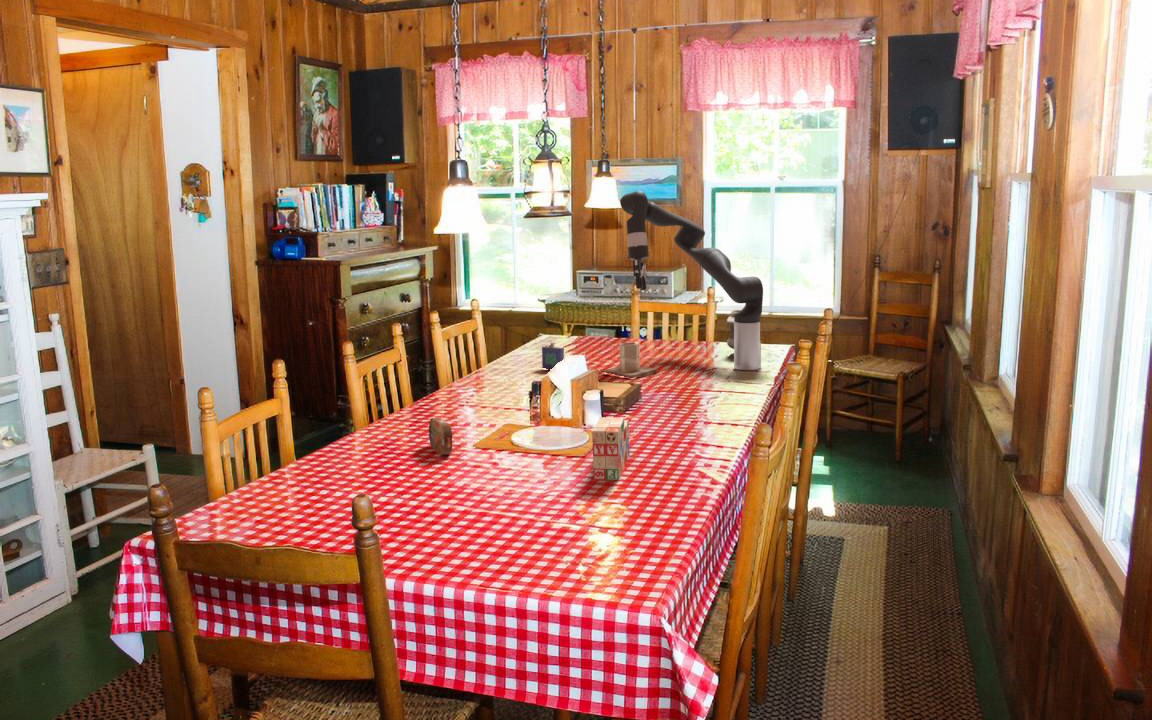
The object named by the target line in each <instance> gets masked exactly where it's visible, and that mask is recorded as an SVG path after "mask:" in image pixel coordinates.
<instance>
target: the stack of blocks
mask: <svg viewBox="0 0 1152 720" xmlns="http://www.w3.org/2000/svg"><path fill="white" fill-rule="evenodd" d="M629 427H630V426H629V419H625V418H624V417H603V416H601V417H599V418H598V421H597V422H596V424H595V425H594V428H593V429H592V430H591V431H592V432H591V437H592V448H591V449H592V464H593V465H592V476H593V477H592V479H593V481H614V480H619V481H620V479H621V477H622V475H623V473H624V471H625V467H626V463H627V461H628V459H629V457H630V454H631V453H630V431H629ZM623 470H624V471H623ZM620 476H621V477H620Z"/></svg>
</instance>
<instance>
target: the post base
mask: <svg viewBox="0 0 1152 720" xmlns="http://www.w3.org/2000/svg"><path fill="white" fill-rule="evenodd" d="M602 372H606V373H611V374H615V375H619V376H624V377H629V378H634V377H640V378H642V377H641V376H644V377H647V376H646V375H648V376H651V375H650V374H652V375H654V374H653V373H656V374H658V369H657V368H651V367H646V366H640V371H624V372H622V371H621V370H620V366H616V367H612V368H608V369H605V370H601V373H602Z"/></svg>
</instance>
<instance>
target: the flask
mask: <svg viewBox="0 0 1152 720" xmlns="http://www.w3.org/2000/svg"><path fill="white" fill-rule="evenodd" d="M555 344H556V342H554V341H553V342H552V341H551V342H549V344H546V345H542V346H541V359H542V360H541V361H542V363H541V367H542V368H546V369H548V370H550V369H552V368H553V367H554V366H555V365H556V364H557V363H558V362H560V361H562V360H563V359H564V360H565V348H564V347H563V346H555ZM542 368H541V369H542Z"/></svg>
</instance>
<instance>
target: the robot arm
mask: <svg viewBox="0 0 1152 720" xmlns="http://www.w3.org/2000/svg"><path fill="white" fill-rule="evenodd" d="M619 202H620V203H619V204H620V207H621V209H622V210H623V211H624V213H626V214H629V215H631V217H630V218H629V219H627V220H626V234H627V235H626V237H627V239H626V241H627V252H628V253H627V254H628V260H632V270H633V271H632V272H633V274H632V275H633V277H634V279H635V287H636V290H640V291H646V290H647V278H648V275H647V263H646V262H645V261H644V259H648V258H649V257H650V254H649V253H650V251H649V242H648V236H647V227H646V226H647V225H646V221H647V222H649V223H651V224H652V225H653V226H656V227H672V226H678V227H679V226H680V229H679V230H678V232H677V233H676V235H675V236H674V243H675V244H676V245H677V246H678V247H679V248H680V249H681V251H683V252H684V253H686V254H687V255H688V256H689V257H691V258H692V259H693V260H695V262H696V263H697V264H698V265H699V266H700V267H701V268H702V269H703V270H704V271H705V272H706V273H707V274H709V276H710V277H712V278H713V279H714V280H715V281H716V283H718V285H719V286H721V288H722V289H723V291H725V293H726V294H727V296H729V298H730V299H731V300H732V301H733V302H735V303H737V304H745V305H744V306H743V307H742V309H739V310H740V311H739V312H737V313H736V314H735V315H734V349H733V353H734V358H733V368H734V369H736V370H740V371H756V370H759V369H760V367H762V363H761V362H762V341H761V316H762V314H763V299H764V287H763V286H764V285H763V282H762V280H761V279H760V278H759V277H757V276H745V277H740V276H739V277H738V276H736V275H735V274H734V273H732V264H731V260H730V259H729V258H728V256H727V255H726V254H725V253H724V252H722V251H721V250H720V249H718V248H715V247H703V248H697V247H698V245H699V244H700V243H701V241H702V240H703V238H704V237H705V235H706V232H705V230H704V229H703V228H702V226H700V225H699V224H697V223H696V222H694V221H692V220H690V219H688V218H686V217H683V216H681V215H678V214H676V213H673V212H671V211H669V210H666V209H665V208H663V207H662V206H660V205H658V204H656V203H655V202H653V201H649V199H648V196H647V195H646V193H645V192H644V191H642V190H637V191H633V192H630V193H627V194H624V195H623V196H621V199H620V201H619Z"/></svg>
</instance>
